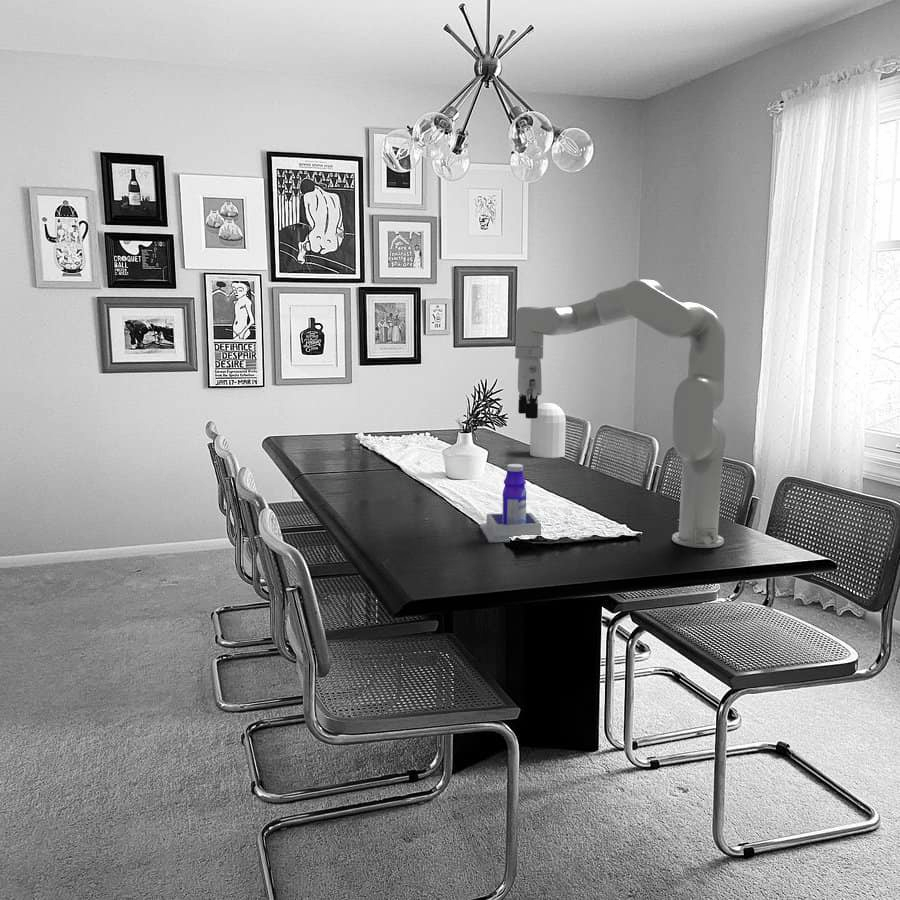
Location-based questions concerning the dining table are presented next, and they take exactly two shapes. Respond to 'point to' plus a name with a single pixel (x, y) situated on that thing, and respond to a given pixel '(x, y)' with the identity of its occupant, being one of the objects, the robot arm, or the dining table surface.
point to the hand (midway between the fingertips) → (527, 415)
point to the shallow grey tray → (509, 528)
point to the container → (548, 432)
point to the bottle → (514, 496)
